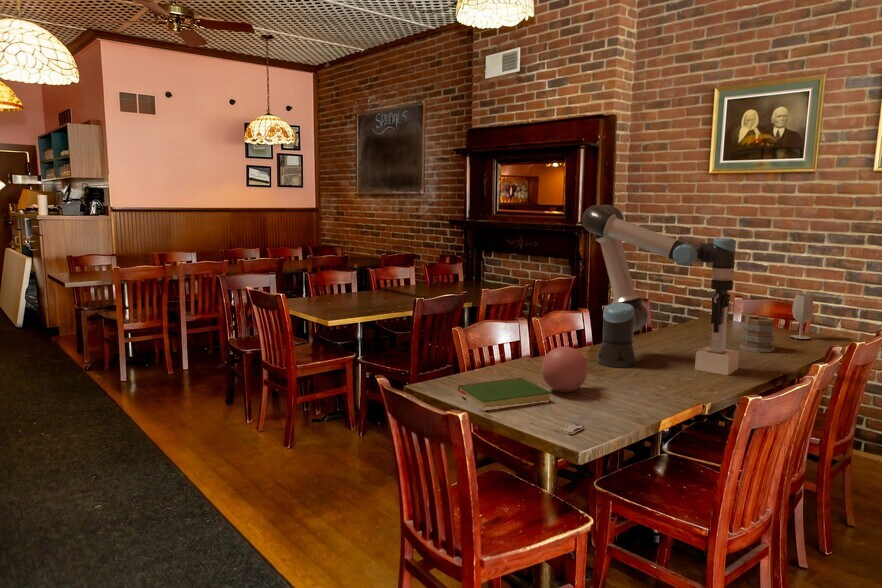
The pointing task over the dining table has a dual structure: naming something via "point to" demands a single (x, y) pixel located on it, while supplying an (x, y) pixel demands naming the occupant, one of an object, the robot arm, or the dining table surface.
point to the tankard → (757, 333)
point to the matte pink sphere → (564, 369)
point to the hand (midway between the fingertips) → (718, 339)
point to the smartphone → (572, 428)
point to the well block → (717, 361)
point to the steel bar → (720, 345)
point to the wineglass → (802, 312)
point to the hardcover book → (504, 392)
